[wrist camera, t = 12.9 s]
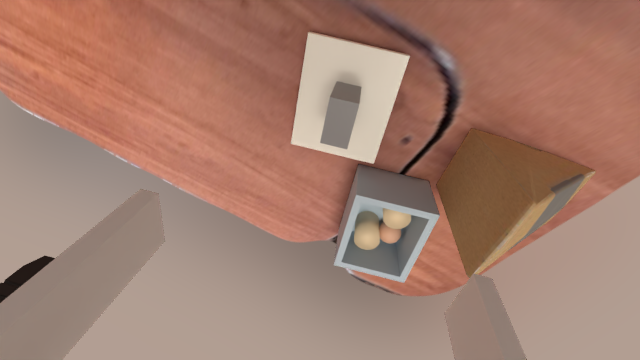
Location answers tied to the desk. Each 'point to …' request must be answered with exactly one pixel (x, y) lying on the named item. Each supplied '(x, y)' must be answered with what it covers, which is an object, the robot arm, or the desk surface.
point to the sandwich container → (503, 194)
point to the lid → (346, 96)
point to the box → (385, 223)
